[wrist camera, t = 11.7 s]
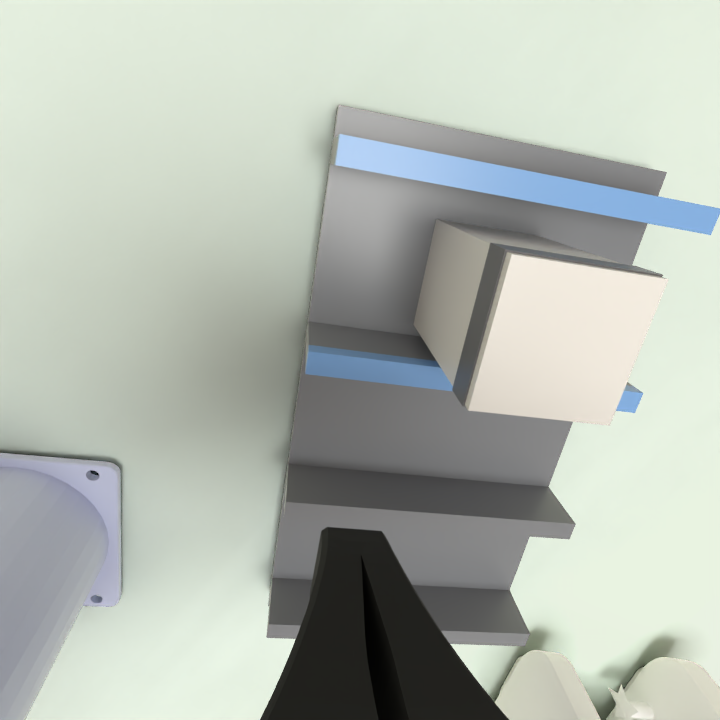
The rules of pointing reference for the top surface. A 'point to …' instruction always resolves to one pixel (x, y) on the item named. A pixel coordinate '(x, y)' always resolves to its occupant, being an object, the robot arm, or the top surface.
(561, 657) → the cable organizer
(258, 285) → the top surface
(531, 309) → the beige block
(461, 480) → the grey slotted rack
